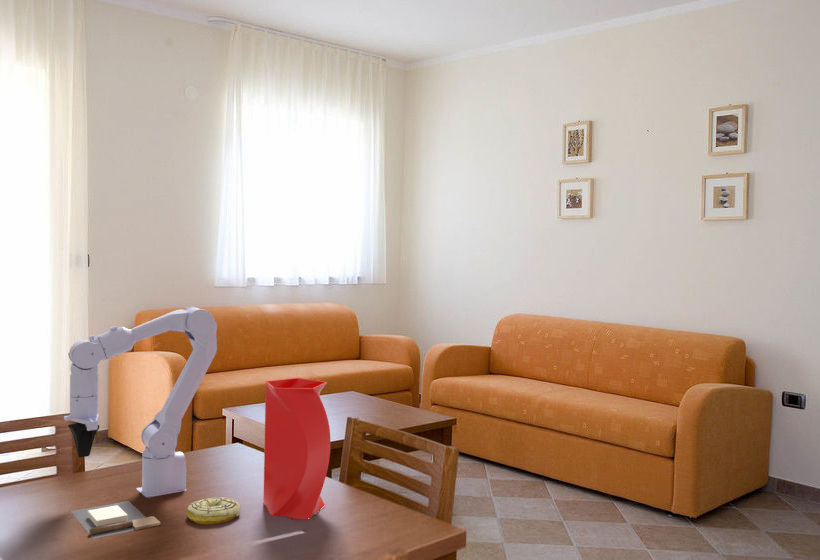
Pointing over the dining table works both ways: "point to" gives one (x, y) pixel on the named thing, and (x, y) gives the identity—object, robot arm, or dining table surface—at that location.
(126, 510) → the mat
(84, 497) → the dining table surface
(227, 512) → the decorated donut
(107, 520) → the tile
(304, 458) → the vase
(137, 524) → the turner
